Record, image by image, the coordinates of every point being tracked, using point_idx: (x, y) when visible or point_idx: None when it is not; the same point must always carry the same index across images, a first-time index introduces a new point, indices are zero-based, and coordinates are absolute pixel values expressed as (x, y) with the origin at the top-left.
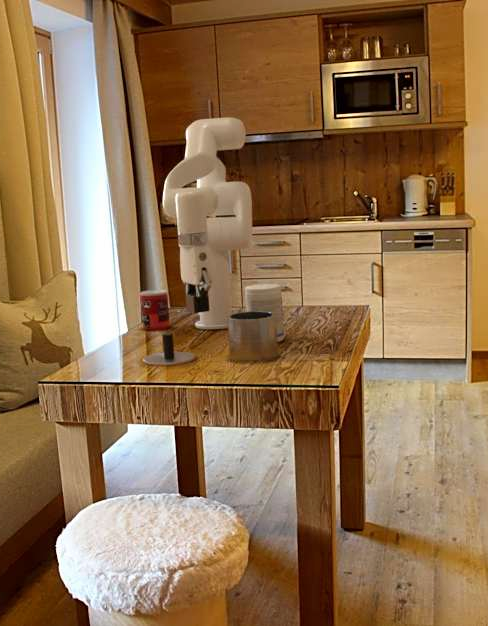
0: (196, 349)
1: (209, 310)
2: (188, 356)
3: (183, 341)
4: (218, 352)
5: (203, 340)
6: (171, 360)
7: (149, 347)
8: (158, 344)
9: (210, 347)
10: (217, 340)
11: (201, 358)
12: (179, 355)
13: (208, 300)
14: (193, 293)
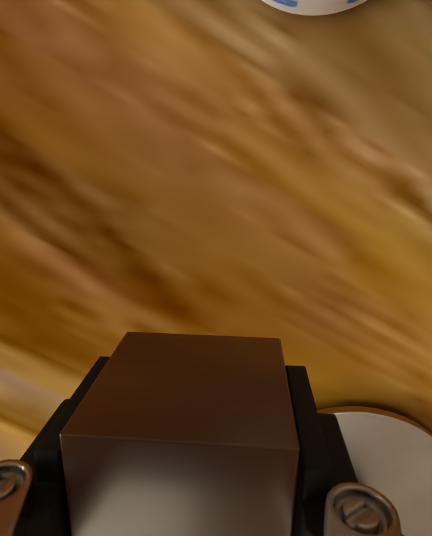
0: (216, 308)
1: (279, 341)
2: (405, 452)
3: (16, 270)
4: (352, 264)
5: (54, 185)
6: (410, 527)
7: (42, 427)
8: (9, 377)
9: (225, 239)
10: (101, 128)
11: (394, 377)
12: (355, 467)
13: (289, 401)
14: (91, 534)
